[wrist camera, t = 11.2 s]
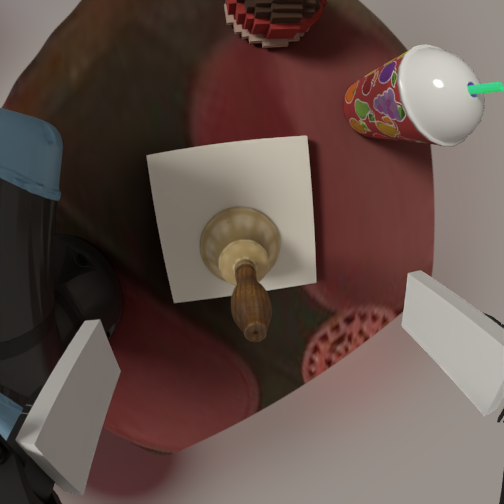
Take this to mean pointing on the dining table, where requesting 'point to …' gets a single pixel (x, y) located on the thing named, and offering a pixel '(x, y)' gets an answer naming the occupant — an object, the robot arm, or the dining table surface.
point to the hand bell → (243, 263)
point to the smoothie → (419, 98)
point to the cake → (272, 19)
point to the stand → (233, 195)
